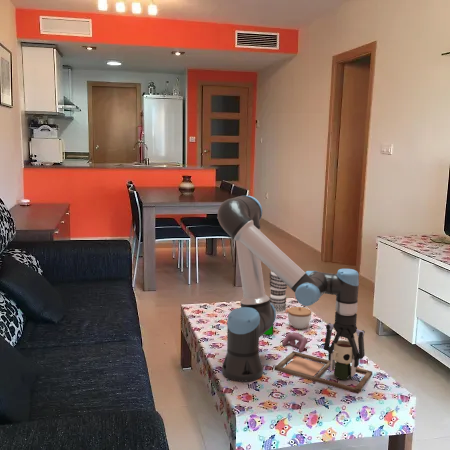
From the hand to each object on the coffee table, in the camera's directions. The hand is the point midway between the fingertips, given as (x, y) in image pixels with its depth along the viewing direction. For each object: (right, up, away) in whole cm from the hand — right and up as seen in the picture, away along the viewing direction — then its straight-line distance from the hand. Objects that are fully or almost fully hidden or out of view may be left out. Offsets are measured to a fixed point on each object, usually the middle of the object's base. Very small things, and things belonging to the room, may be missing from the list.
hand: (342, 371), depth 180 cm
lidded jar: (-9, +6, +49) cm, 50 cm away
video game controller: (-14, +2, +26) cm, 30 cm away
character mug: (0, -2, 0) cm, 2 cm away
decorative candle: (-16, +10, +70) cm, 73 cm away
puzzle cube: (-26, +6, +43) cm, 51 cm away
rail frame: (-6, -1, +4) cm, 8 cm away
